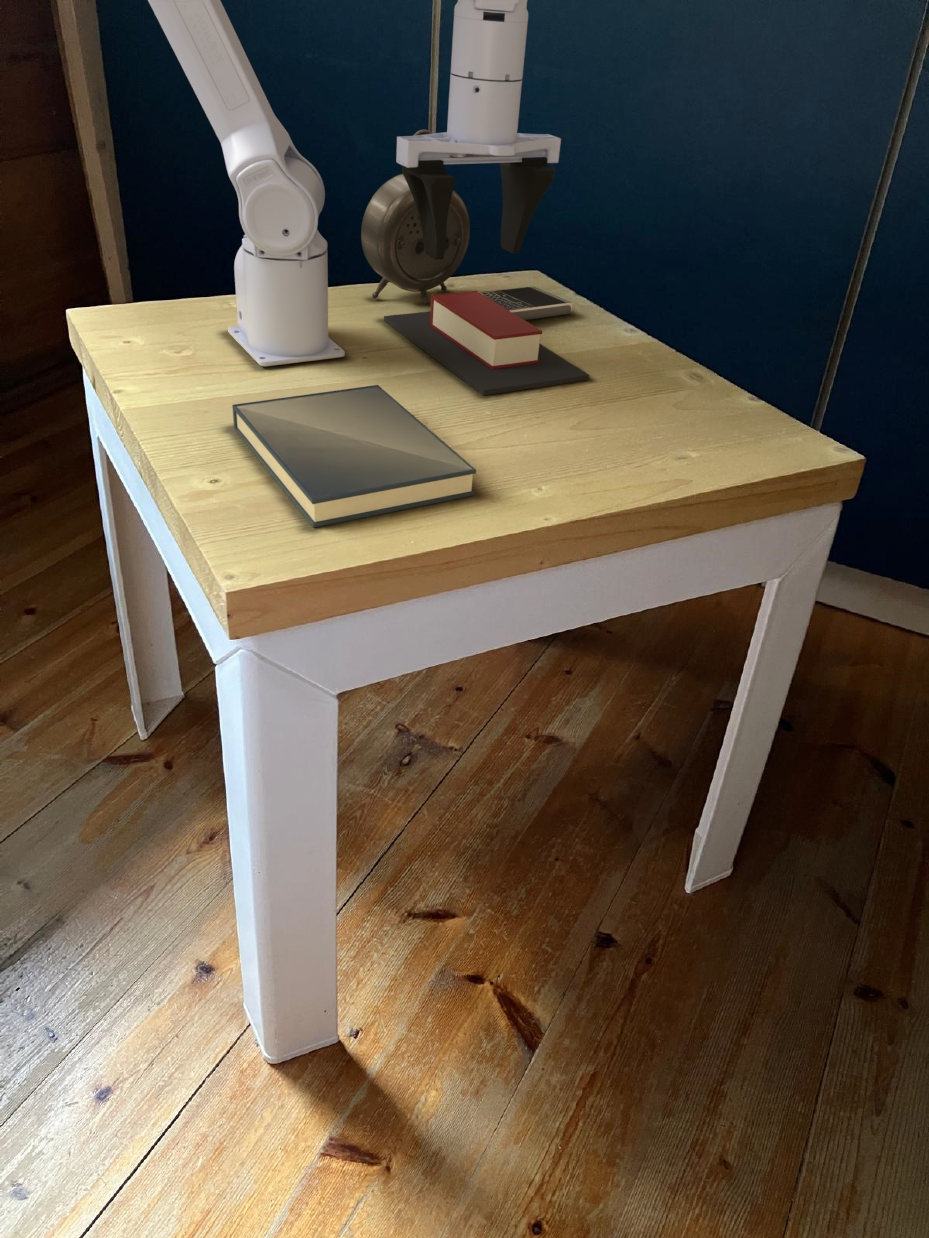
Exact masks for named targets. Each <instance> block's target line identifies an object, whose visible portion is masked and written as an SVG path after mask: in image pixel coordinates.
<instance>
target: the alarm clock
mask: <svg viewBox="0 0 929 1238" xmlns="http://www.w3.org/2000/svg"><path fill="white" fill-rule="evenodd" d="M424 134H425V135H426V134H434V133H433V132H432V131H430V130H428V129H420V130H418V131H416V132H415V133H414V134H413V135H412V136H417V135H424ZM364 211H365V212H364V214H363V217H362V222H361V230H360V232H361V233H360V239H361V241H360V242H361V247H362V251H363V254H364V257H365V259H366V261H367V262H368V264H369V266H370V267H371V268H372V270H373V271H374V272H375V273H377V274H378V276H379V275H380V277H382V278H381V280H380V281H379V283H378V285H377V287H376V290H375V291H374V292H373V293H372V295H371V296H372V299H377V298H378V297H379V294H380V293H381V292H382V291H383V290H384V289H385V287H386V286H387V285H388V284H389V283H391V284H392V285H394V286H395V287H398V288H399V289H401V290H404V291H408V292H414V293H416V292H417V293H420V299H421V302H422V303H423V304H427V303H428V300H429V299H428V291H430V290H432V289H434V288H437V287H439V286H440V290H441V291H442V292H447V290H448V287H447V286H446V284H445V282H446V281H447V280H448V279H449V278H451V277H452V276H453V275H454V274H455V272H456V271H457V269H458V268H459V267H460V265H461V263H462V261H463V260H464V258H465V255H466V253H467V250H468V247H469V241H470V235H471V223H470V217H469V214H468V213H469V212H468V210H467V206H466V204H465V202H464V201H463V199H462V198H461V196H460V195H459V194H458V193H457V192H456V191H455V190H454V189H453V193H452V197H451V201H450V206H449V211H448V217H447V228H446V246H445V252H444V257H443V259H439V260H436V259H434V258H432V257H430V256H429V255H427V254H425V246H424V239H423V233H422V228H421V223H420V219H419V215H418V211H417V208H416V205H415V202H414V199H413V196H412V194H411V191H410V189H409V186H408V184H407V182H406V179H405V177H404V175H403V173H400V174H398V175H396V176H393V177H392V178H390V179H389V180H387V181H386V182H384V183H383V184H382V185H381V186H380V187H379V188H378V189H377V191H376V192H375V193H374V194H373V196H372V197H371V199H370V201H369V202H368V204H367V206H366V209H365V210H364Z"/></svg>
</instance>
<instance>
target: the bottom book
mask: <svg viewBox="0 0 929 1238" xmlns="http://www.w3.org/2000/svg"><path fill="white" fill-rule="evenodd" d="M231 406H232V419H233V430H234V432H235V433H236V434H237V435H238V436H239V437H240V438H241V440H242V441H243V442H244V443H245V445H246V446H247V448H248V449H249V450H250V451H251V453H252V454H253V455H254V456H255V457H256V458H257V460H258V461H259V462H260V463H261V465H262V466H263V467H264V469H265V470H266V471H267V472H268V473H269V475H270V476H271V477H272V478H273V480H274V481H275V482H276V483H277V485H278V486H279V487H280V488H281V490H283V492H284V493H285V494H286V496H287V497H288V498H289V499H290V501H291V502H292V503H293V504H294V505H295V507H296V508H297V509H298V511H299V513H301V514H302V516H303V517H304V518H305V520H306V521H307V522H308V523H309V524H310V525H311V527H312V528H317V527H323V526H327V525H334V524H337V523H343V522H347V521H348V522H349V521H353V520H359V519H362V518H369V517H372V516H373V517H374V516H378V515H383V514H388V513H392V512H398V511H402V510H403V511H404V510H407V509H411V508H412V509H413V508H417V507H422V506H423V507H424V506H428V505H432V504H437V503H438V504H439V503H442V502H448V501H453V500H458V499H462V498H468V497H472V496H474V495H475V491H474V490H473V478H474V475H475V474H477V469H476V468H475V467H473V466H472V465H471V464H470V463H469V462H467V461H466V460H465V459H464V458H463V457H462V456H461V455H459V454H458V453H457V451H455V450H454V449H453V448H452V447H450V446H449V445H448V444H447V443H445V441H443V439H441V438H440V437H439V436H438V435H436V434H435V433H434V432H433V431H432V430H431V429H429V428H428V427H427V425H425V424H424V423H422V422H421V421H420V420H419V419H418V418H417V417H416V416H415V415H413V414H412V413H411V412H410V411H409V410H408V409H407V408H405V406H403V405H402V404H401V403H400V402H399V401H397V400H396V399H395V398H394V397H393V396H391V395H390V394H389V393H388V392H387V391H385V389H383V388H382V387H381V386H380V385H379V384H374V385H367V386H359V387H353V388H344V389H338V390H337V389H336V390H331V391H321V392H316V393H315V392H314V393H307V394H300V395H293V396H287V397H286V396H285V397H279V398H271V399H265V400H256V401H251V402H241V403H236V404H235V403H233V404H232V405H231Z"/></svg>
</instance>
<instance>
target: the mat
mask: <svg viewBox="0 0 929 1238" xmlns="http://www.w3.org/2000/svg"><path fill="white" fill-rule="evenodd" d="M383 322H385V323H386V324H387V325H389V326H390V327H391V328H392V329H394V330H395V331H396V332H398V333H399V334H400V335H402V336H403V337H404V338H406V339H408V340H409V341H410V342H412V344H414V345H415V346H417V347H418V348H419V349H421V350H422V351H423V352H425V353H426V354H427V355H429V357H431V358H433V359H434V360H436V361H437V362H438V363H439V364H441V365H442V366H443V367H445V368H446V369H447V370H449V371H450V372H451V373H453V374H454V375H455V376H457V377H458V378H459V379H460V380H462V381H463V382H465V383H466V384H467V385H468V386H470V387H471V388H473V389H474V390H475V391H477V392H478V393H479V394H480V395H482V396H489V395H496V394H502V393H510V392H517V391H523V390H531V389H536V388H542V387H548V386H550V387H551V386H555V385H556V386H557V385H562V384H569V383H575V382H576V383H577V382H583V381H589V379H590V374H589V373H587V372H586V371H584V370H583V369H581V368H580V367H578V366H576V365H574V364H573V363H572V362H570V361H569V360H566V359H565V358H564V357H561V356H560V355H558V354H557V353H555V352H553V350H550V349H549V348H547V347H546V346H545V345H543V344H541V343H539V352H538V360H539V363H535V364H528V365H521V366H514V367H506V368H499V369H490V368H489V367H487V366H486V365H485V364H483V363H482V362H480V361H479V360H478V359H476V358H475V357H473V356H472V355H470V354H469V353H468V352H466V351H465V350H463V349H462V348H461V347H459V346H458V345H456V344H455V343H453V342H452V341H451V340H449V339H448V338H446V337H445V336H443V335H442V334H441V333H439V332H438V331H436V330H435V329H434V328H432V327H431V326H430V311H429V310H428V311H419V312H410V313H401V314H393V315H392V314H391V315H383Z"/></svg>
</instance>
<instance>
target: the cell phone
mask: <svg viewBox="0 0 929 1238" xmlns="http://www.w3.org/2000/svg"><path fill="white" fill-rule="evenodd" d="M478 292H479V291H478ZM479 293H481V294H482V295H484V296H486V297H487V298H489V299H491V300H492V301H494V302H496V303H497V304H499V305H501V306H502V307H504V308H505V309H507V310H509V311H510V312H512V313H514V314H515V315H517V316H519V317H520V318H522V319H524V320H525V321H527V320H535V319H541V318H542V319H543V318H551V317H557V316H563V315H564V316H565V315H570V314H571V313H572V312H573V311H574V309H575V307H576V303H575V302H573V301H570V300H568V299H565V298H563V297H560V296H558V295H556V294H553V293H550V292H548V291H546V290H543V289H541V288H539V287H536V286H525V287H517V288H508V289H507V288H506V289H499V290H497V289H496V290H489V291H481V292H479Z"/></svg>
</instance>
